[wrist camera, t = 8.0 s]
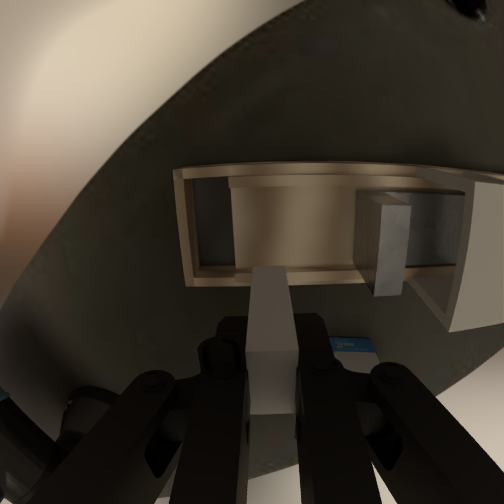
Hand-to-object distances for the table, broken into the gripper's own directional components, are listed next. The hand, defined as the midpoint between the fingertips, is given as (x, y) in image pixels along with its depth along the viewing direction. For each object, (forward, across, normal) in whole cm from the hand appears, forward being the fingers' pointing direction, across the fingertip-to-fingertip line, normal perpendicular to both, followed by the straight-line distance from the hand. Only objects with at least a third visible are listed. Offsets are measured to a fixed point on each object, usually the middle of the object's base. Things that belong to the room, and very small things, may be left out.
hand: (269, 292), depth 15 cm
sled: (+10, +16, +1) cm, 19 cm away
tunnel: (+10, +15, 0) cm, 18 cm away
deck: (+13, +10, 0) cm, 16 cm away
